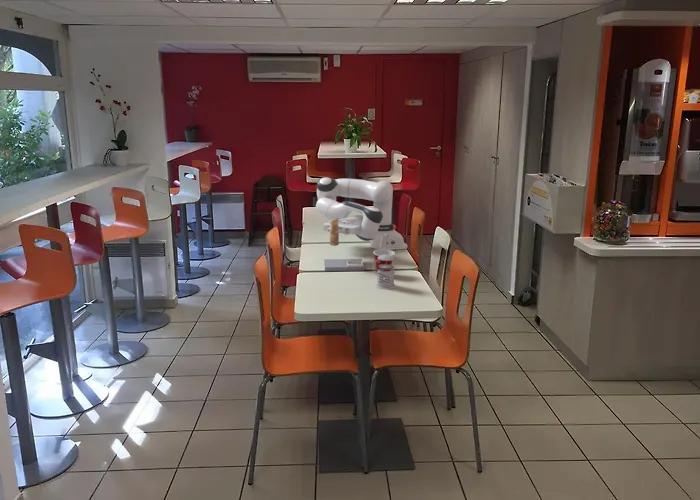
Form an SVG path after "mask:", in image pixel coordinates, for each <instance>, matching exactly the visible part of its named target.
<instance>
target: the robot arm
mask: <svg viewBox="0 0 700 500" xmlns="http://www.w3.org/2000/svg"><path fill="white" fill-rule="evenodd" d="M393 187H394V186H393V185H392V183H391V182H389V181H388V180H384V179H383V180H379V181H371V180H366V179H357V178H337V179H336V178H335V179H334V178H332V177H329V176H324V177H320V178H319V179H318V180H317V183H316V196H317V201H316V204H315V209H316V211H317V212H318V213H319V214H320V215H321V216H323V217H325V218H326V219H328V221H327V222H324V223H323V225H322V226H323V227H322V229H323V231H326V232H329V233H330V220H332V219H337V220H339V229H338V230H337V233H339V234H344V235H346V236H347V235H355V236H356V237H357V238H358V239H360V240H362V241H364V242H370V244H369V248H371V249H375V250H378V249H386V240H387V250H391V251H393V250H394V251H395V249H396V250H407V249H408V244H407V243H405V242H404V237H403V235H402V234H401V233H399V232H398V231H396V229H397V226H396V225H395V224H394V223H392V212H393V211H392V209H393V198H394V197H393V192H394V189H393ZM337 197H343V198H351V199H363V200H366V201H367V200H368V201H372V202H373V204H372V205H373V206H372V207H371V206H367V205H364V204H360V203H358V202H354V201H349V200H344V201H342V202H339V201H337ZM352 212H357V213H360V214H355V215H352V216H350V217H349V215H350V213H352ZM385 234H388V235H389V237H385Z"/></svg>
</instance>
